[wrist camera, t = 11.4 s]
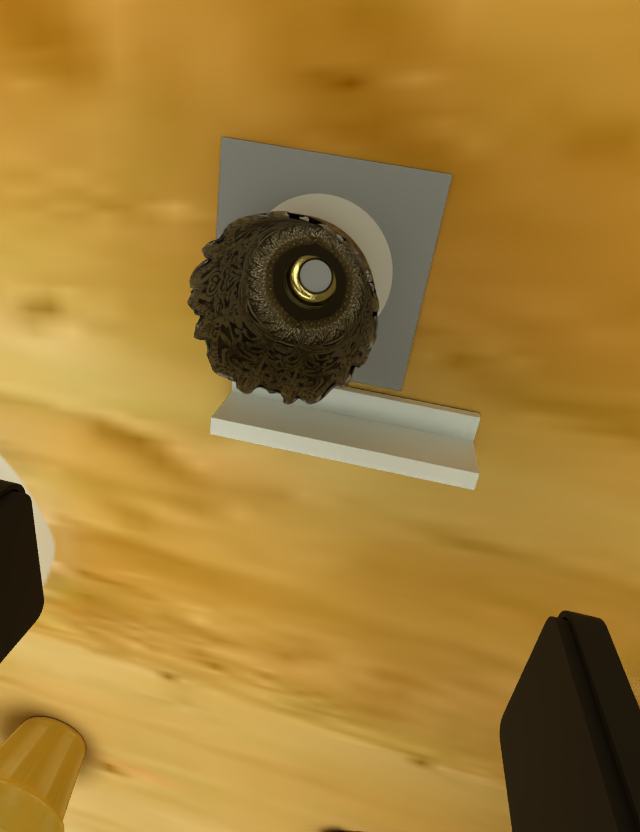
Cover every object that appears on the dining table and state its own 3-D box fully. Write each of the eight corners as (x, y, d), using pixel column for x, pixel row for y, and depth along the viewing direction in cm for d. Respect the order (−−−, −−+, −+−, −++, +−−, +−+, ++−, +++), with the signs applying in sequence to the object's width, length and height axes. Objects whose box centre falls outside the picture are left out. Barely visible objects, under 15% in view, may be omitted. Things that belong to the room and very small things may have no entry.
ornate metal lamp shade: (232, 318, 29) (171, 370, 22) (263, 177, 25) (204, 183, 18) (361, 363, 29) (343, 430, 22) (410, 227, 25) (408, 253, 18)
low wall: (460, 473, 31) (466, 513, 27) (231, 425, 32) (208, 457, 29) (479, 413, 29) (488, 448, 26) (236, 364, 30) (212, 391, 27)
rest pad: (401, 389, 29) (401, 392, 29) (212, 351, 30) (209, 353, 30) (452, 174, 24) (452, 174, 24) (223, 137, 25) (220, 136, 25)
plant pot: (95, 711, 48) (23, 834, 39) (114, 779, 52) (53, 903, 44) (-8, 693, 49) (-99, 808, 40) (19, 761, 54) (-58, 877, 45)
